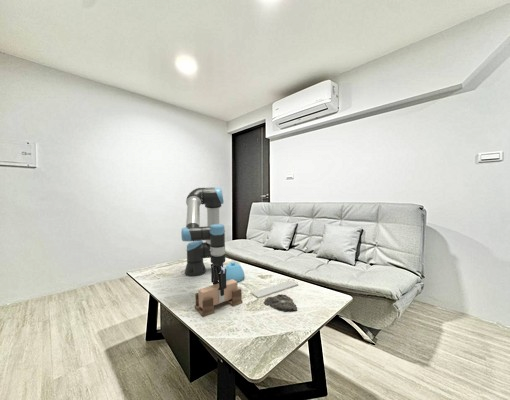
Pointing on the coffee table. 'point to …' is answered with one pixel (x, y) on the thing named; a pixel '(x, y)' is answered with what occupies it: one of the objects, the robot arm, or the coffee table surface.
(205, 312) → the rack
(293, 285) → the baseboard
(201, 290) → the peach rectangular block
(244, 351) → the coffee table surface
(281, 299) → the dark grey rock
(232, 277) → the sugar bowl
